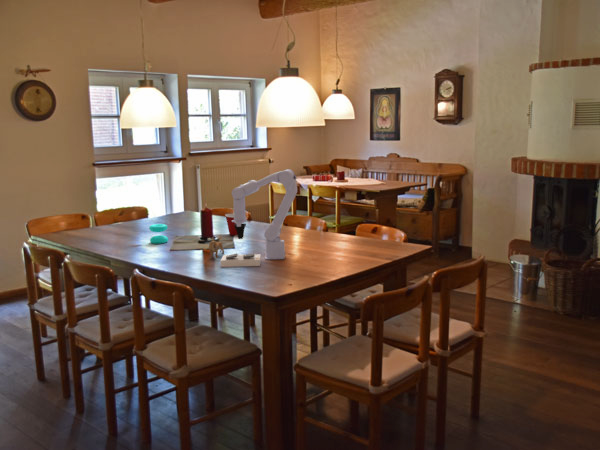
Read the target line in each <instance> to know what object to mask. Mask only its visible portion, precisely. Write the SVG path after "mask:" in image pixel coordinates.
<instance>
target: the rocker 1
mask: <svg viewBox="0 0 600 450" xmlns="http://www.w3.org/2000/svg"><path fill="white" fill-rule="evenodd" d="M227 255H228V256H226V259H230V258H231V259H233V258H235V257H237V255H238V253H237V252H236V253H233V254H227Z"/></svg>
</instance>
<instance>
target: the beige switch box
mask: <svg viewBox="0 0 600 450" xmlns="http://www.w3.org/2000/svg"><path fill="white" fill-rule="evenodd" d="M254 254H255V253H254ZM228 255H229V254H222V257H221V259H220V267H222V268H223V267H226V268H227V267H229V268H230V267H260V266H261V261H262V257H261V253H259V254H258V253H257V254H255V256H254V257H251V258H250V259H248V258H245V259H244V258H243V256H244V255H245V254H237V257H235V258H233V259H231V258H230V259H226V256H228Z"/></svg>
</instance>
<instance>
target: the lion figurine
mask: <svg viewBox="0 0 600 450" xmlns="http://www.w3.org/2000/svg"><path fill="white" fill-rule="evenodd" d="M223 247H224V246H223V243H222V242H220V241H216V240H211V241H210V242H209V246H208V250H209V251H210V253H209V254H210V259H213V257H214V256H215V259H217V258H219V257H218V253H219V252H220V253H221V254H222V255H225V249H224V248H223ZM219 249H220V250H219ZM213 253H214V254H213ZM213 255H214V256H213Z"/></svg>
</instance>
